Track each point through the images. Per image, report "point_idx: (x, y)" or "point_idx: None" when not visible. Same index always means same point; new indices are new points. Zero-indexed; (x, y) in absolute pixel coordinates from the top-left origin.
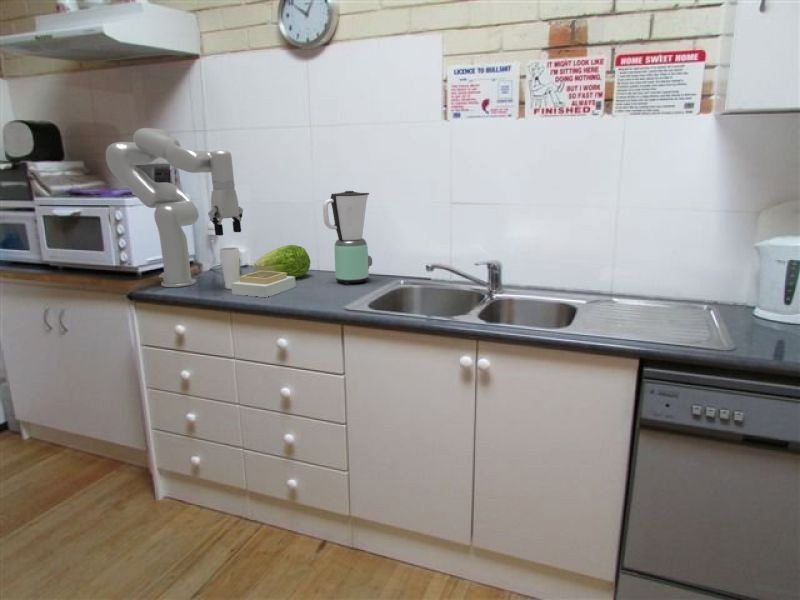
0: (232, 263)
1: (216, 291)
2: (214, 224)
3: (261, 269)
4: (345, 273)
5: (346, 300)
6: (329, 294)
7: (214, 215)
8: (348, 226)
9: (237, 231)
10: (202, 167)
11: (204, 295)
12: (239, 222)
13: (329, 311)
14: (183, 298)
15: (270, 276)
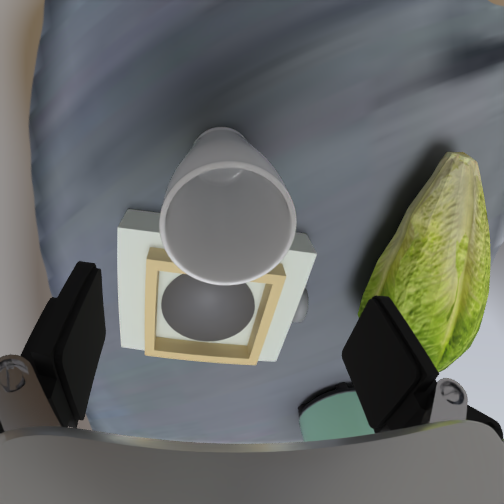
0: (187, 226)
1: (152, 122)
2: (32, 354)
3: (415, 200)
4: (302, 429)
5: (172, 434)
6: (207, 410)
7: (68, 479)
8: None
9: (352, 338)
10: None
11: (84, 120)
12: (373, 428)
13: (99, 427)
14: (34, 80)
15: (259, 307)
